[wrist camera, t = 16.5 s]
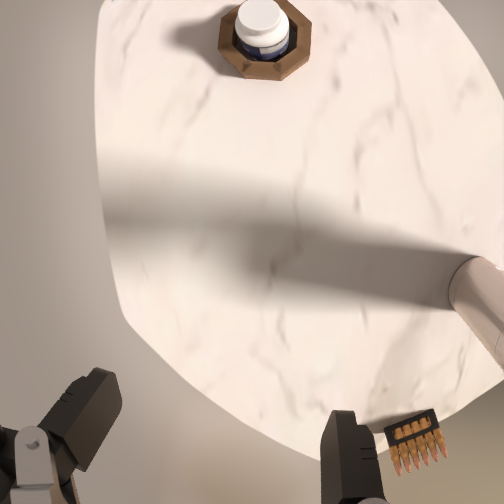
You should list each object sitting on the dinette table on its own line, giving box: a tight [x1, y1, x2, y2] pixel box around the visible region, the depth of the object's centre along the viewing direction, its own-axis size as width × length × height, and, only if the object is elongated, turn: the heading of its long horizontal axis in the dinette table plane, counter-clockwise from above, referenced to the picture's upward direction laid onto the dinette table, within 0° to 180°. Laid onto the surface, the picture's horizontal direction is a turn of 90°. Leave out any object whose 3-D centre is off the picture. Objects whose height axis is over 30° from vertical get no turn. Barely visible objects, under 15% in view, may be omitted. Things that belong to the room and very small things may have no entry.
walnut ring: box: [218, 0, 312, 81], centre depth 29 cm, size 10×10×3 cm
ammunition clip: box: [384, 409, 447, 476], centre depth 42 cm, size 11×2×12 cm, turn 116°
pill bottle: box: [235, 0, 289, 62], centre depth 26 cm, size 5×5×10 cm
